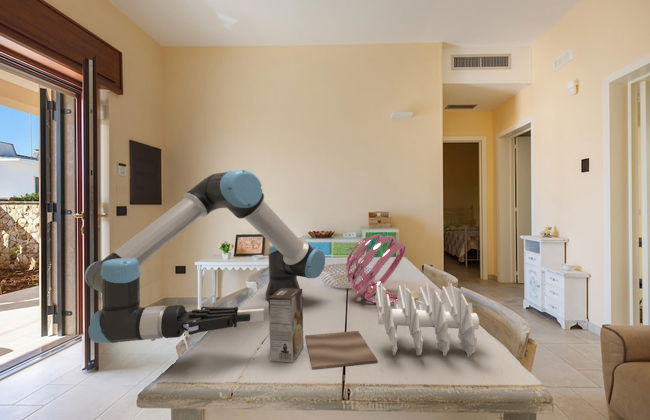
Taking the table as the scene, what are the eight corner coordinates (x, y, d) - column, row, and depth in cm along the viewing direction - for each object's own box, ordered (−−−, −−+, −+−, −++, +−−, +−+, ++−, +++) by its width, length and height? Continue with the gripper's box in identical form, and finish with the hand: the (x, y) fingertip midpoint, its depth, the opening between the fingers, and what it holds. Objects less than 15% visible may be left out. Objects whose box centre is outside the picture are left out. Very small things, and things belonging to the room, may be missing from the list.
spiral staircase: (481, 376, 74) (378, 370, 75) (458, 321, 90) (373, 316, 91) (501, 321, 66) (385, 315, 67) (471, 271, 82) (378, 267, 83)
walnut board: (305, 337, 89) (305, 335, 89) (358, 332, 91) (358, 330, 91) (312, 369, 71) (312, 366, 71) (377, 362, 73) (377, 360, 73)
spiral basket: (439, 252, 120) (384, 214, 132) (408, 282, 99) (346, 234, 111) (408, 297, 135) (361, 259, 146) (376, 331, 114) (324, 284, 126)
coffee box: (281, 345, 84) (280, 287, 84) (304, 346, 83) (302, 288, 83) (269, 361, 75) (268, 297, 75) (294, 363, 74) (292, 298, 74)
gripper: (174, 326, 80) (265, 320, 84) (155, 349, 67) (262, 340, 71) (174, 298, 80) (264, 293, 84) (154, 315, 67) (262, 308, 71)
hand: (263, 314), depth 77 cm, fingers closed
